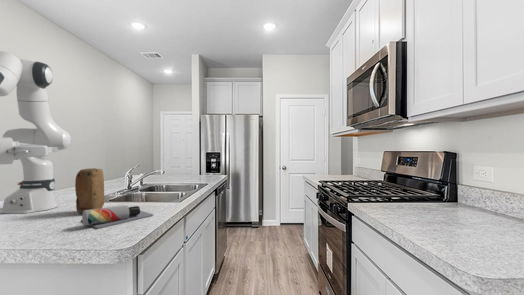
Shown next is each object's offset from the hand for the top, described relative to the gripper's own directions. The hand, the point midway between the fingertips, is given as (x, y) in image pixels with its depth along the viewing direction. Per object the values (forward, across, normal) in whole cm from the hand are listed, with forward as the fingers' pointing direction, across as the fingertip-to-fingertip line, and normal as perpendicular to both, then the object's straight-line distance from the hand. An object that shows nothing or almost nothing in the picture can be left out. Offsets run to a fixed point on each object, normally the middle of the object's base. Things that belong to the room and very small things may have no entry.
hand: (56, 149), depth 95 cm
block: (+16, +16, +30) cm, 38 cm away
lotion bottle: (+6, -8, +26) cm, 27 cm away
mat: (+19, -6, +30) cm, 36 cm away
